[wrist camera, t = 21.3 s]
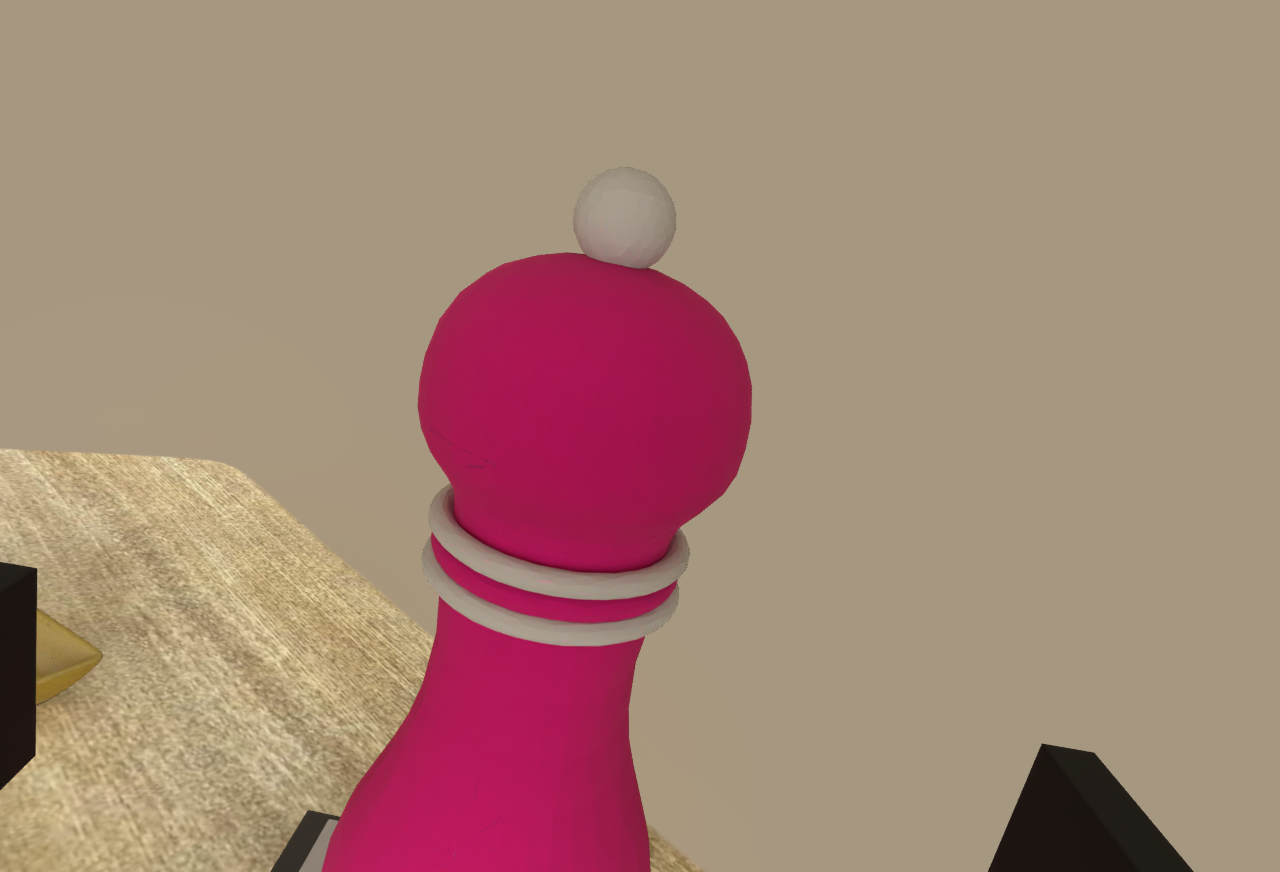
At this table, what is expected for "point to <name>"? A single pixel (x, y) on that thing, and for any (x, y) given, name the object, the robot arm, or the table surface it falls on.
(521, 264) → the pepper mill
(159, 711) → the table surface
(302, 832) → the scale
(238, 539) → the table surface
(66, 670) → the saucer
